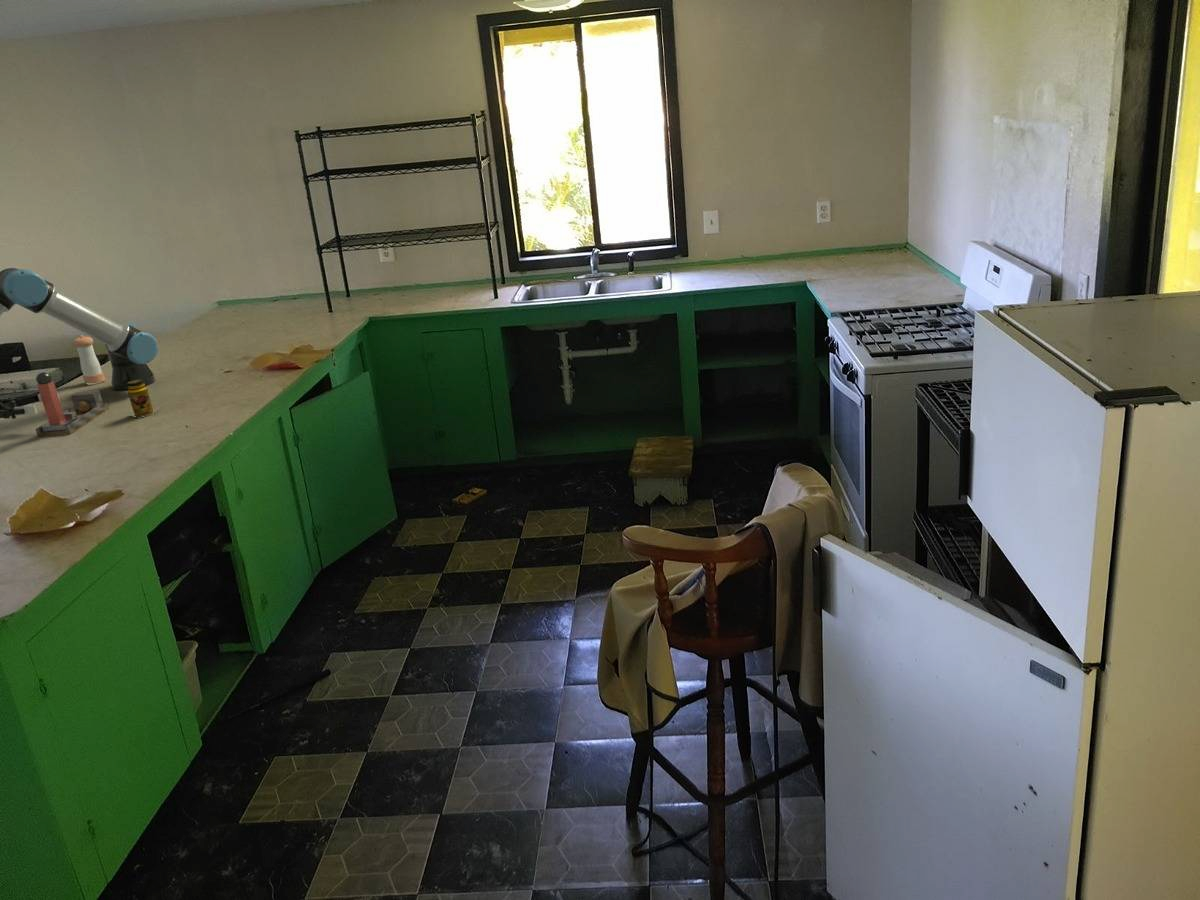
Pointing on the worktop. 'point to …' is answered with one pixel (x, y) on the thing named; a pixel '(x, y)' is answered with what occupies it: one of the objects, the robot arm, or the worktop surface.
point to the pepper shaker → (88, 360)
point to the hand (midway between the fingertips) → (47, 402)
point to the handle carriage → (53, 404)
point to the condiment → (139, 398)
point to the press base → (79, 412)
